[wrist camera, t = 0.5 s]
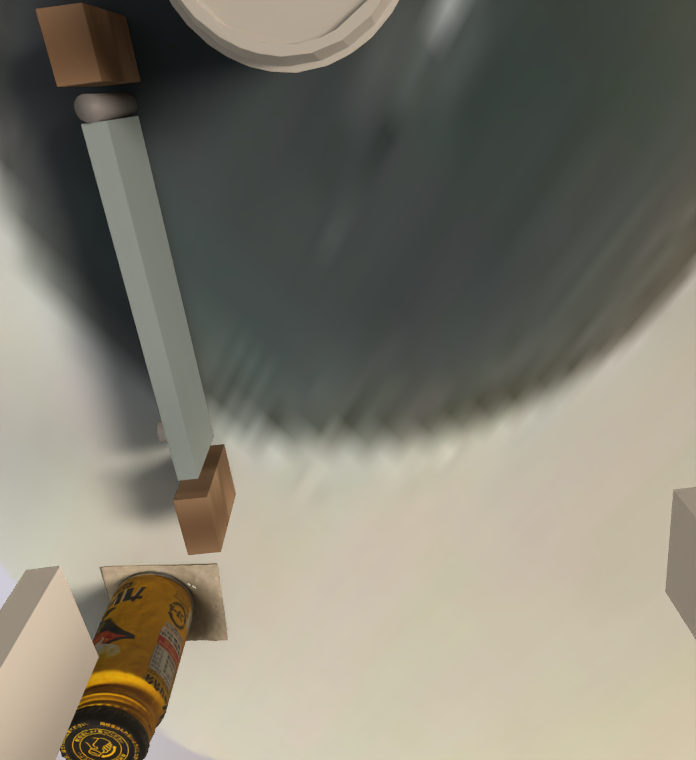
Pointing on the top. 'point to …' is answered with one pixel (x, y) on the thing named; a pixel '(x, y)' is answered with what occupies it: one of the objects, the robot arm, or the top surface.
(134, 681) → the condiment
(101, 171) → the door
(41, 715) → the robot arm
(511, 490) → the top surface
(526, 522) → the top surface
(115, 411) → the top surface
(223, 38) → the disposable coffee cup
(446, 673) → the top surface
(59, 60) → the brown upright pieces
